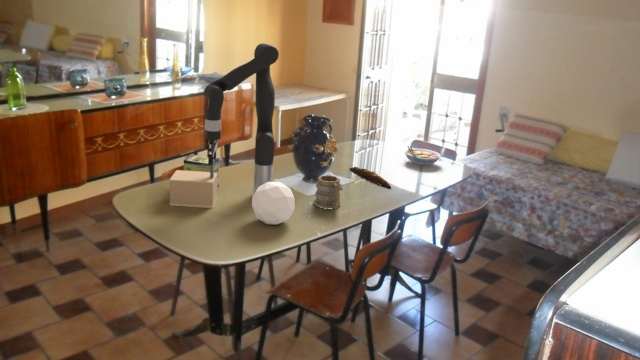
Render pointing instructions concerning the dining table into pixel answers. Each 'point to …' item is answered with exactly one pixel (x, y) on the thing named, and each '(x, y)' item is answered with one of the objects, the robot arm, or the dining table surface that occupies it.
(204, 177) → the lid flap
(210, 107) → the robot arm
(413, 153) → the ramen bowl
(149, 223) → the dining table surface
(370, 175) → the bread
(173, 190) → the carton
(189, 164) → the protein box
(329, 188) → the tankard
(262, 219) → the ball
